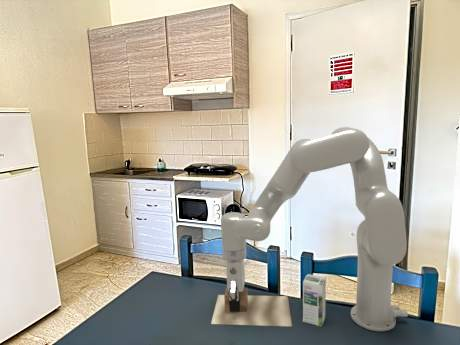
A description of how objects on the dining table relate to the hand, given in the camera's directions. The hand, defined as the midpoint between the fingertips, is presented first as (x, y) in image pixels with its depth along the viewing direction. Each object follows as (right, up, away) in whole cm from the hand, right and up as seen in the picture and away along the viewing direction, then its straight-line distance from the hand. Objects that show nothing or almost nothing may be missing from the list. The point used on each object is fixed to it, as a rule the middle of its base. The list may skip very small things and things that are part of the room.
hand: (236, 302), depth 103 cm
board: (+5, -4, 0) cm, 6 cm away
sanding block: (0, -2, 0) cm, 2 cm away
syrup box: (+24, -4, -6) cm, 25 cm away
